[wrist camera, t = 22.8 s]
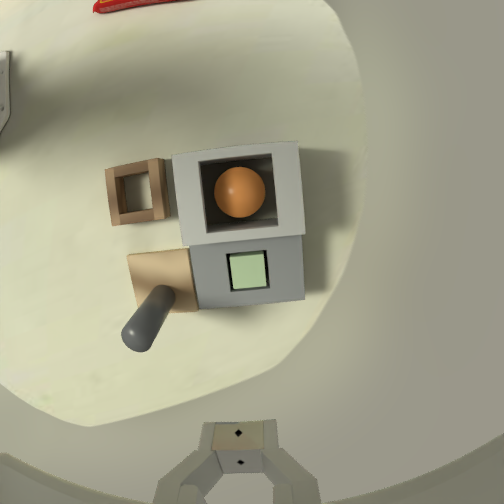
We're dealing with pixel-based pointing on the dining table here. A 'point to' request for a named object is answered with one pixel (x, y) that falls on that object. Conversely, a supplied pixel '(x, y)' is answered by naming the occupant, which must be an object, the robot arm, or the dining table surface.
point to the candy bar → (121, 4)
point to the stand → (118, 192)
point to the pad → (164, 277)
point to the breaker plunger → (239, 192)
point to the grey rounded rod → (148, 319)
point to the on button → (248, 269)
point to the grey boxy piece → (243, 228)
